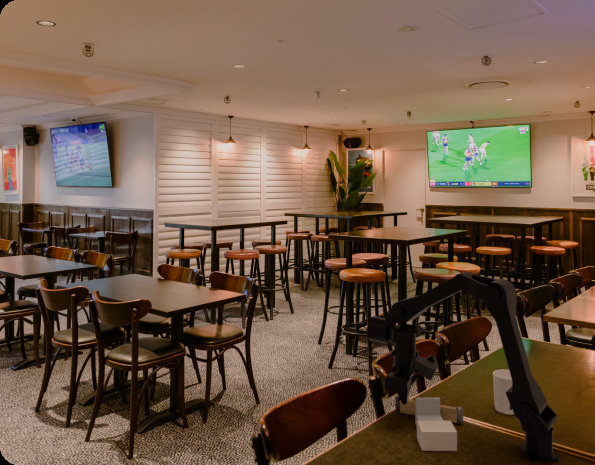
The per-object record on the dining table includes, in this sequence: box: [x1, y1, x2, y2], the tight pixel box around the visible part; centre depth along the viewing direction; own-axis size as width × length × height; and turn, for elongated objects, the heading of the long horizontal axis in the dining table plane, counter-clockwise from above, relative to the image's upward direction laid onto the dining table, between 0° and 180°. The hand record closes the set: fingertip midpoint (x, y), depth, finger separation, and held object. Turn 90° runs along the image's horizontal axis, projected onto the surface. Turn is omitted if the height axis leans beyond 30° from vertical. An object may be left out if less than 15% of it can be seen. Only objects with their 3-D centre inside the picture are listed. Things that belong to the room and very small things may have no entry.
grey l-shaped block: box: [414, 396, 443, 428], centre depth 127 cm, size 7×6×7 cm
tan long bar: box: [394, 395, 464, 424], centre depth 135 cm, size 18×2×4 cm, turn 63°
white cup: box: [492, 368, 515, 416], centre depth 139 cm, size 8×8×10 cm
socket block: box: [416, 420, 458, 452], centre depth 120 cm, size 6×8×4 cm
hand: (404, 404), depth 136 cm, fingers closed
